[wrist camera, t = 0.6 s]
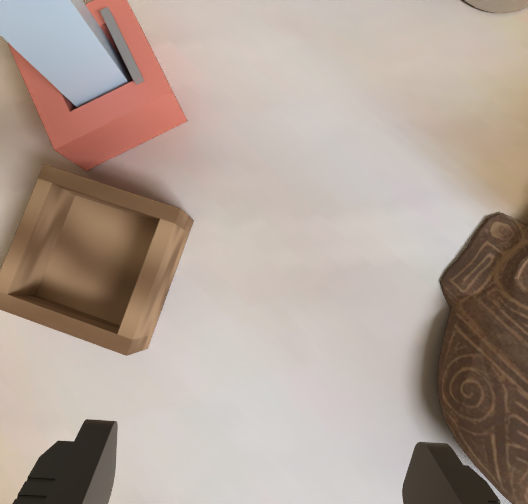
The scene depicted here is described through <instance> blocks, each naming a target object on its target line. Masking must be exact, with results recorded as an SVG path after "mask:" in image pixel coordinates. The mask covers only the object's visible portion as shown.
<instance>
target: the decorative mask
mask: <svg viewBox="0 0 528 504" xmlns="http://www.w3.org/2000/svg"><path fill="white" fill-rule="evenodd" d="M440 283H441V287H442V290H443V294H444V296H445V299H446V300H447V302H448V304H449V305H450V307H451V310H450V314H449V319H448V323H447V328H446V332H445V336H444V341H443V345H442V349H441V354H440V358H439V372H438V389H437V390H438V395H439V399H440V404H441V408H442V412H443V417H444V419H445V421H446V423H447V425H448V427H449V428H450V430H451V432H452V434H453V436H454V438H455V439H456V441H457V443H458V444H459V445H460V447H461V448H462V449H463V451H464V452H465V454H466V455H467V456H468V457H469V459H470V460H471V461H472V463H473V464H474V465H475V466H476V467H477V468H478V469H479V470H480V471H481V472H482V474H483V475H484V476H485V477H486V478H487V479H488V480H489V481H490V482H491V483H492V484H493V485H494V486H495V488H496V489H497V490H498V491H499V492H500V493H501V494H502V495H503V496H504V497H505V498H506V499H508V500H509V501H510V502H511V503H512V504H528V227H527V226H526V225H524V224H522V223H520V222H519V221H517V220H515V219H513V218H511V217H509V216H507V215H505V214H503V213H502V214H499V215H496V216H493V217H490V218H487V219H486V220H485V221H484V223H483V224H482V225H481V227H480V228H479V229H478V230H477V232H476V233H475V234H474V236H473V238H472V239H471V241H470V243H469V244H468V246H467V248H466V249H465V250H464V252H463V253H462V254H461V255H460V257H459V258H458V259H457V260H456V262H455V263H454V264H453V265H452V266H451V267H450V268H449V269H448V270H447V271H446V272H445V274H444V276H443V277H442V279H441V281H440Z"/></svg>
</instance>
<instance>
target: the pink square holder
mask: <svg viewBox="0 0 528 504" xmlns="http://www.w3.org/2000/svg"><path fill="white" fill-rule="evenodd" d="M85 5H86V6H87V8H88V9H89V11H90V12H91V14H92V15H93V17H94V18H95V20H96V21H97V23H98V24H99V26H100V27H101V29H102V30H103V32H104V33H105V35H106V36H107V38H108V39H109V41H110V42H111V44H112V45H113V47H114V48H115V50H116V51H117V53H118V54H119V56H120V57H121V59H122V60H123V62H124V63H125V65H126V67H127V69H128V71H129V73H130V75H131V77H132V80H133V81H132V82H130V83H128V84H126V85H124V86H121V87H119V88H117V89H115V90H113V91H111V92H109V93H107V94H105V95H103V96H101V97H99V98H97V99H95V100H93V101H91V102H89V103H87V104H85V105H83V106H81V107H79V108H77V107H76V106H75V105H74V104H73V103H72V102H71V101H70V100H69V99H68V98H67V97H65V96H64V95H63V94H62V93H61V92H60V91H59V90H58V89H57V88H56V87H55V86H54V85H53V84H52V83H51V82H49V81H48V80H47V79H46V78H45V77H44V76H43V75H42V74H41V73H40V72H39V71H38V70H37V69H36V68H35V67H34V66H32V65H31V64H30V63H29V62H28V61H27V60H26V59H25V58H24V57H23V56H22V55H21V54H20V53H19V52H18V51H16V50H15V49H14V48H13V47H12V46H11V45H10V44H9V43H8V42H7V43H8V45H9V47H10V50H11V52H12V54H13V56H14V59H15V61H16V63H17V66H18V68H19V70H20V72H21V75H22V77H23V79H24V82H25V84H26V86H27V88H28V91H29V93H30V95H31V98H32V100H33V102H34V104H35V107H36V109H37V111H38V114H39V116H40V118H41V120H42V123H43V125H44V127H45V130H46V132H47V134H48V136H49V139H50V141H51V143H52V146H53V148H54V150H56V151H57V152H59V153H60V154H62V155H63V156H65V157H66V158H68V159H69V160H71V161H72V162H74V163H75V164H77V165H78V166H80V167H81V168H83V169H84V170H86V171H87V170H89V169H91V168H93V167H95V166H97V165H99V164H101V163H103V162H105V161H107V160H109V159H111V158H113V157H115V156H117V155H119V154H121V153H123V152H125V151H127V150H129V149H131V148H133V147H135V146H137V145H139V144H141V143H143V142H146V141H148V140H150V139H152V138H154V137H156V136H158V135H160V134H162V133H164V132H166V131H168V130H170V129H172V128H174V127H176V126H178V125H180V124H182V123H184V122H186V121H187V119H186V117H185V115H184V113H183V111H182V109H181V107H180V105H179V103H178V101H177V99H176V97H175V95H174V93H173V91H172V89H171V87H170V85H169V83H168V81H167V79H166V77H165V75H164V73H163V71H162V69H161V67H160V65H159V63H158V60H157V58H156V56H155V54H154V52H153V50H152V48H151V46H150V44H149V42H148V40H147V38H146V36H145V34H144V32H143V30H142V28H141V26H140V24H139V22H138V21H137V19H136V17H135V15H134V13H133V11H132V9H131V7H130V5H129V3H128V1H127V0H93V1H91V2H89V3H87V4H85Z"/></svg>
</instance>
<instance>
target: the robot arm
mask: <svg viewBox="0 0 528 504" xmlns="http://www.w3.org/2000/svg"><path fill="white" fill-rule="evenodd" d="M465 1H466V2H467V3H469V4H471V5H472V6H474V7H476V8H479V9H481V10H484V11H488V12H494V13H508V12H513V11H518V10H521V9H523V8H525V7H527V6H528V0H465ZM116 447H117V422H116V421H104V420H88V419H87V420H85V421H84V423H83V425H82V427H81V429H80V431H79V433H78V435H77V437H76V439H75V441H74V442H72V441H57V442H56V443H55V444H54V445H53V446H52V447H50V448H49V449H48V450H47V451H46V452H45V453H44V454H42V455H41V456H40V457H39V459H38V460H37V462H36V464H35V466H34V467H33V469H32V471H31V473H30V474H29V476H28V479H27V482H26V481H25V483H24V485H23V487H22V488H21V490H20V492H19V493H18V497H17V499H15V500H14V502H13V504H108V502H109V498H110V495H111V491H112V487H113V482H114V476H115V468H116ZM402 496H403V503H404V504H500V500H499V499H498V497H497V496H496V495H495V493H494V492H493V490H492V489H491V488H490V486H489V485H488V483H487V482H486V481H485V480H484V479H483V478H481V477H480V476H479V475H478V474H477V473H476V472H475V471H474V470H472V469H471V468H470V467H469V466H465V465H463V464H462V463H461V461H460V460H459V458H458V457H457V455H456V454H455V452H454V451H453V449H452V448H451V447H450V446H449V445H448V444H445V443H429V442H419V443H417V444H416V446H415V448H414V451H413V455H412V458H411V461H410V464H409V467H408V471H407V474H406V477H405V480H404V483H403V490H402Z"/></svg>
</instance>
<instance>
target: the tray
mask: <svg viewBox="0 0 528 504" xmlns="http://www.w3.org/2000/svg"><path fill="white" fill-rule="evenodd" d="M193 222H194V220H193V219H191V218H190V217H189V216H188V215H187V214H186V213H185V212H184V211H183V210H181V209H180V208H177V207H174V206H171V205H168V204H165V203H162V202H159V201H156V200H152V199H149V198H146V197H143V196H140V195H137V194H134V193H131V192H128V191H125V190H122V189H119V188H116V187H113V186H110V185H107V184H104V183H100V182H97V181H94V180H91V179H88V178H85V177H82V176H79V175H76V174H73V173H70V172H67V171H64V170H61V169H58V168H55V167H52V166H48V165H45V164H44V165H43V168H42V170H41V172H40V175H39V177H38V180H37V182H36V185H35V187H34V190H33V192H32V195H31V197H30V199H29V202H28V204H27V207H26V209H25V212H24V214H23V217H22V219H21V222H20V224H19V226H18V229H17V231H16V234H15V236H14V239H13V241H12V244H11V246H10V249H9V251H8V253H7V256H6V258H5V261H4V263H3V266H2V268H1V271H0V310H3V311H6V312H8V313H11V314H14V315H17V316H19V317H22V318H25V319H28V320H30V321H33V322H36V323H39V324H41V325H44V326H47V327H49V328H52V329H55V330H58V331H60V332H63V333H66V334H69V335H71V336H74V337H77V338H80V339H82V340H85V341H88V342H91V343H93V344H96V345H99V346H102V347H104V348H107V349H110V350H112V351H115V352H118V353H121V354H123V355H126V356H127V355H130V354H133V353H136V352H139V351H142V350H145V349H148V346H149V343H150V340H151V338H152V335H153V332H154V329H155V327H156V324H157V321H158V318H159V316H160V313H161V310H162V307H163V304H164V302H165V299H166V296H167V293H168V291H169V288H170V285H171V282H172V280H173V277H174V274H175V271H176V269H177V266H178V263H179V260H180V257H181V255H182V252H183V249H184V246H185V244H186V241H187V238H188V235H189V233H190V230H191V227H192V224H193Z"/></svg>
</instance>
